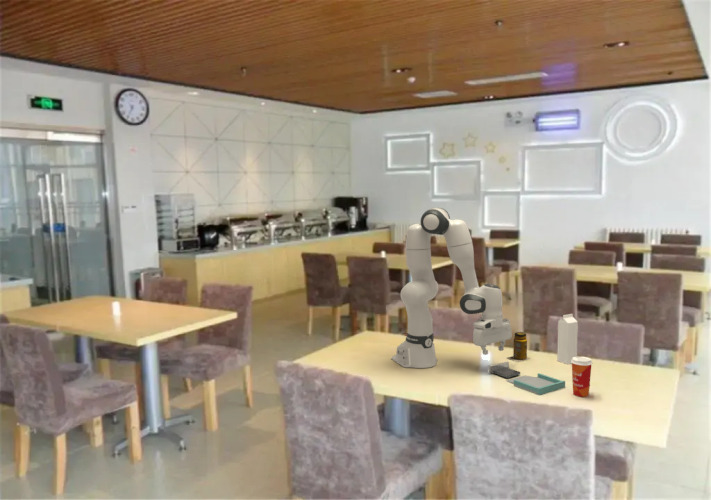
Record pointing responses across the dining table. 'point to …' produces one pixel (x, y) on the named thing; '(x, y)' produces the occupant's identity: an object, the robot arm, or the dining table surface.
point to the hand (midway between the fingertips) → (493, 352)
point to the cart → (503, 370)
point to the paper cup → (581, 375)
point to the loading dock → (537, 383)
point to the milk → (567, 339)
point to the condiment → (519, 347)
